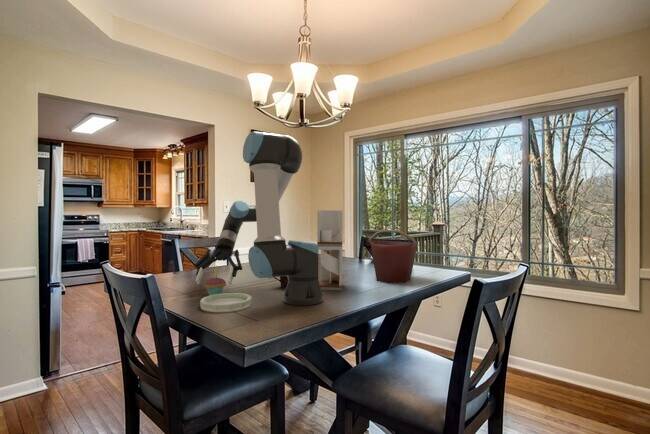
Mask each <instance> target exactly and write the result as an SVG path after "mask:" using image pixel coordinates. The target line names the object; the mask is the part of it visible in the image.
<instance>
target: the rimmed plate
mask: <svg viewBox="0 0 650 434" xmlns="http://www.w3.org/2000/svg"><path fill="white" fill-rule="evenodd" d="M199 301H200V302H199V306H200V309H201V310H202V311H204V312H207V313H208V312H209V313H232V312H238V311H243V310H245V309H248V308H249V307H251V306H252V295H249V294H247V293H243V292H242V293H241V292H225V293H224V292H223V293H221V294H215V295H210V296H209V295H207V296H204V297H202V298H201V299H200V300H199Z"/></svg>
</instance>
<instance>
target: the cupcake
mask: <svg viewBox="0 0 650 434" xmlns="http://www.w3.org/2000/svg"><path fill="white" fill-rule="evenodd" d="M214 270H215V272H214V273H215V274H214V277H210V278H208V279H207V280H206V281H205V282H204V288H205V289H206V290H207V292H208V296H210V295H215V294H221V293H222V292H223V289H224V288H225V287H226V285H227V284H226V283H227V282H226V280H225V279H224V278H221V277H218V266H217V265H215V269H214Z"/></svg>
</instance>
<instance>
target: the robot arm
mask: <svg viewBox="0 0 650 434" xmlns="http://www.w3.org/2000/svg"><path fill="white" fill-rule="evenodd" d="M242 158H243V162H245V163H246V164H248V165H249V167H248V169H249V170H250V171H251V172H252V173H253V179H254V180H253V181H254V182H253V183H254V197H255V205H249V204H248V203H247V202H245V201H243V200H236V201H234V202H233V203H232V205H231V207H230V208H229V211H228V214H227V215H226V218H225V219H224V222H223V226H222V230H221V232H220V234H219V238H218V240H217V244H215V245H216V246H215V249H214V250H211V249H210V248H208V249H207V251H206V253H204V255H203V256H202V257H201V258H200V259H199V260H198V261H197V262H196V263H195V264H194V267H195V269H196V273H195V275H196V277H195V282H196V284H197V285H200V284H201V282H202V281H201V280H202V278H203V275H204V272H205V269H206V268H208V267H209V266H210V265H212V264H213V263H215V262H217V261H223V262H225V261H226V260H227V261H228V262H229V264H230V265H231V269H230V272H229V276H228V279H227V282H228V284H229V286H232V284H233V280H234V278H235V277H237V273H238V271H242V270H243V266H242V263H241V259H240V252H239V250H238V249H235V250H234V248H235V245H236V242H237V239H238V235H239V233H240V229H241V227H242V225H243V224H244V223H256V230H257V231H256V233H257V236H256V238H255V239H254V241H253V245H252V246H251V247H250V248H249V249H248V263H249V264H248V265H249V266H250V270H251V272H252V273H253V275H254V276H255V277H256V278H257V279H271V278H274V277H276V278H280V276H288V284H287V287H286V288H285V291H284V294H283V302H284V303H285V304H287V305H292V306H312V305H318V304H320V303H322V302H323V301H324V294H323V290H321V287H320V284H319V281H320V280H319V256H320V252H319V251H320V250H318V245H317V242H310V241H303V240H302V241H301V240H293V239H292V240H291V239H290V240H288V242H287V243H286V239H285V238H284V236H282V231H281V216H280V213H281V212H280V200H281V199H282V197H283V195H284V193H285V191H286V189H287V187H288V185H289V183H290V182H291V180H292V178H293V176H294V175H296V174H297V173H298V172H299V169H300V168H301V166H302V163H303V151H302V149H301V145H300V144H299V142H298V141H297V140H296V139H295V138H294V137H292V136H290V135H286V134H278V133H271V132H264V131H252V132H250V133H248V135H247V136H246V138H245V140H244V144H243V148H242ZM232 256H234V257H235V260H236V264H235V262H234V260H233V259H232V258H231V257H232Z"/></svg>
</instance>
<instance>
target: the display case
mask: <svg viewBox="0 0 650 434" xmlns="http://www.w3.org/2000/svg"><path fill="white" fill-rule="evenodd" d="M343 211H344V210H342V209H341V210H336V209H335V210H333V209H331V210H325V209H324V210H322V209H321V210H317V212H316V213H317V214H316V215H317V216H316V217H317V219H316V221H317V222H316V224H317V225H316V226H317V228H316V229H317V233H316V236H317V239H316V244H317V245H318V251H320V264H321V266H322V267H321V274H322V276H321V279H320V280H319V284H320V287H321V290H322V291H342V289H343V233H344V232H343V230H344V229H343V228H344V227H343Z"/></svg>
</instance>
